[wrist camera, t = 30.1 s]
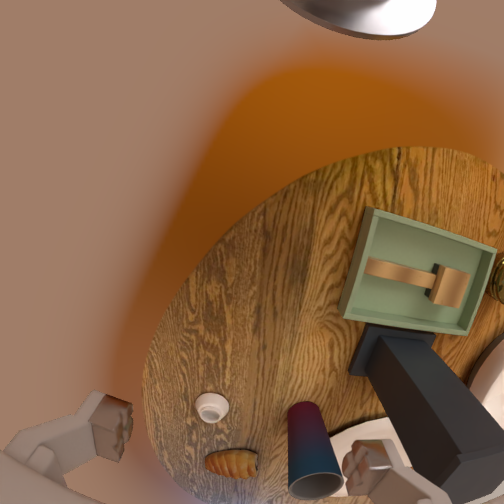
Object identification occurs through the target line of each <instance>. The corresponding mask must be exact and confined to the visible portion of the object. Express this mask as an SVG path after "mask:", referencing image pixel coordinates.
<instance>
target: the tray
mask: <svg viewBox="0 0 504 504" xmlns="http://www.w3.org/2000/svg"><path fill="white" fill-rule="evenodd" d="M496 252H497V249H495V248H493V247H490V246H487V245H485V244H482V243H479V242H477V241H474V240H471V239H468V238H466V237H463V236H460V235H457V234H454V233H451V232H448V231H445V230H442V229H439V228H436V227H433V226H430V225H427V224H424V223H421V222H418V221H415V220H412V219H408V218H405V217H402V216H399V215H395V214H392V213H389V212H385V211H382V210H379V209H375V208H371V207H367V206H366V208H365V213H364V217H363V221H362V225H361V229H360V232H359V236H358V240H357V244H356V247H355V251H354V255H353V258H352V262H351V265H350V269H349V272H348V276H347V279H346V282H345V286H344V289H343V292H342V295H341V298H340V302H339V305H338V308H337V309H338V311H339V312H340V314H341V316H342V317H343V318H344V319H350V320H356V321H362V322H369V323H375V324H381V325H388V326H394V327H401V328H408V329H415V330H422V331H430V332H437V333H445V334H453V335H462V336H467V335H468V333H469V331H470V328H471V326H472V323H473V321H474V318H475V316H476V313H477V311H478V308H479V305H480V303H481V300H482V297H483V294H484V291H485V288H486V285H487V282H488V279H489V276H490V273H491V270H492V266H493V263H494V259H495V256H496V255H495V254H496ZM368 256H371V257H375V258H379V259H383V260H387V261H390V262H394V263H398V264H402V265H406V266H410V267H414V268H418V269H422V270H425V271H429V272H432V269H433V266H434V263H436V264H441V265H444V266H448V267H451V268H455V269H458V270H462V271H465V272H467V273H469V274H471V276H470V279H469V282H468V285H467V288H466V290H465V293H464V296H463V299H462V302H461V304H460V307H459V309H458V308H453V307H448V306H443V305H438V304H434V303H432V302H431V301H430V300H428V297H427V296H425V295H424V293H425V290H426V288H425V287H420V286H416V285H412V284H407V283H403V282H399V281H394V280H390V279H385V278H381V277H377V276H372V275H368V274H364V270H365V266H366V263H367V260H368Z"/></svg>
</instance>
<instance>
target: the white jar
mask: <svg viewBox="0 0 504 504" xmlns="http://www.w3.org/2000/svg"><path fill="white" fill-rule="evenodd" d="M195 407H196V409H197V411H198V413H199V415H200V417H201V419H202V420H203V421H205V422H208V423H216V422H218V421H219V420H220V419H222V418H223V417H224V416H225V415H226V414H227V413H228V410H229V404H228V401H227V400H226V399H225V398H224V397H223V396H220V395H218V394H215V393H205V394H202V395H200V396H199V397H198V398H197V400H196V404H195Z"/></svg>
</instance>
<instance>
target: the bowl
mask: <svg viewBox="0 0 504 504" xmlns="http://www.w3.org/2000/svg"><path fill="white" fill-rule="evenodd" d="M467 388H468V389H469V390H470V391H471V392H472V393H473V395H474V396H475V397H476V398H477V399H478V400H479V401H480V403H481V404H482V405H483V406H484V407H485V408H486V410H487V411H488V412H489V413H490V414H491V416H492V417H493V418H494V419H495V420H496V422H497V423H498V424H499V425H500V426H501V428H502V429H503V430H504V333H503V334H501V335H500V336H498V337H497V338H496V339H495V340H494V341H493V342H492V343H491V344H490V345H489V346H488V347H487V348H486V349H485V351H484V352H483V353H482V354H481V356H480V357H479V359H478V360H477V362H476V364H475V366H474V368H473V369H472V371H471V374H470V376H469V379H468V383H467Z"/></svg>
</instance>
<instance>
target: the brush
mask: <svg viewBox="0 0 504 504" xmlns="http://www.w3.org/2000/svg"><path fill="white" fill-rule="evenodd" d="M364 274H368V275H372V276H377V277H381V278H385V279H390V280H394V281H399V282H403V283H407V284H412V285H416V286H420V287H425V288H426V290H425V293H424V295H425V296H427V297H428V300H430V301H431V302H432V303H434V304H438V305H443V306H448V307H453V308H458V309H459V307H460V304H461V302H462V299H463V296H464V293H465V290H466V288H467V285H468V282H469V279H470V276H471V274H469V273H467V272H465V271H462V270H458V269H455V268H451V267H448V266H444V265H441V264H436V263H434V266H433V269H432V272H429V271H425V270H422V269H418V268H414V267H410V266H406V265H402V264H398V263H394V262H390V261H387V260H383V259H379V258H375V257H371V256H368V260H367V263H366V266H365V270H364Z"/></svg>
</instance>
